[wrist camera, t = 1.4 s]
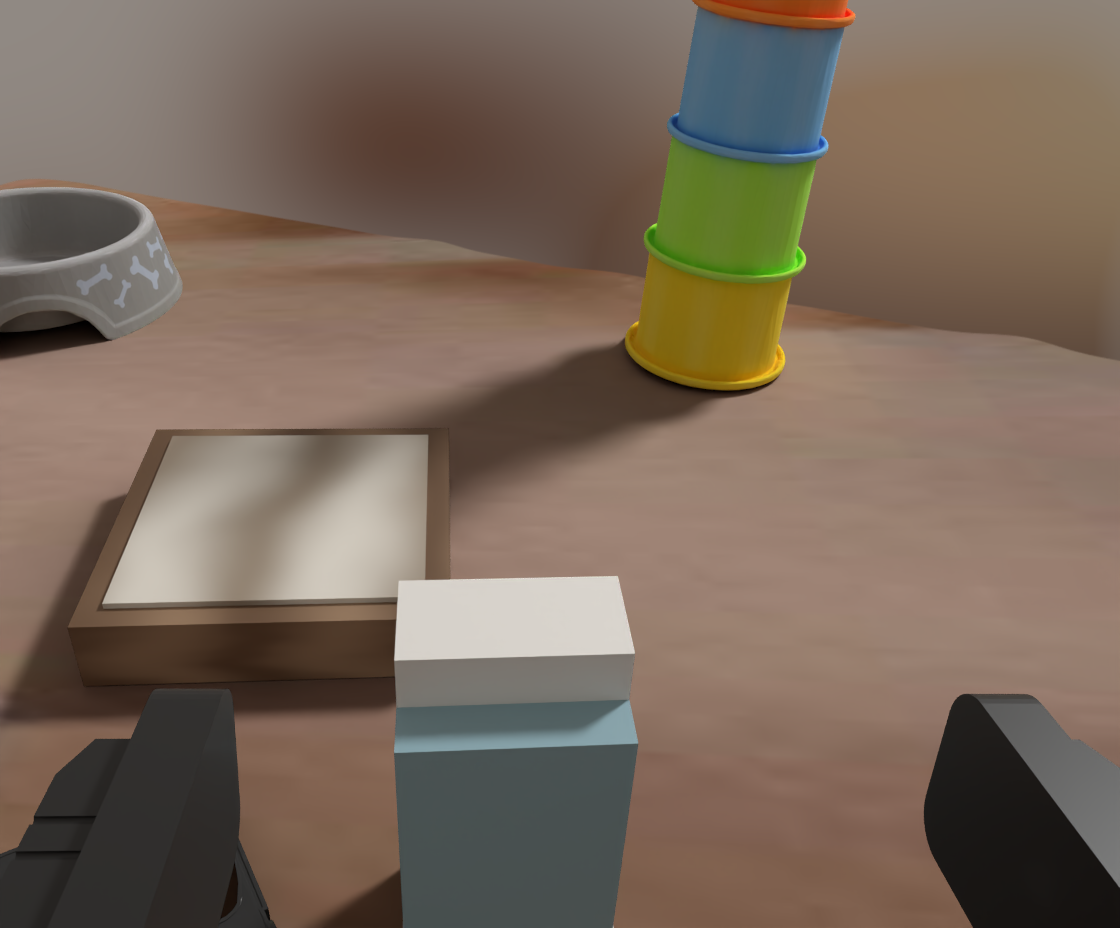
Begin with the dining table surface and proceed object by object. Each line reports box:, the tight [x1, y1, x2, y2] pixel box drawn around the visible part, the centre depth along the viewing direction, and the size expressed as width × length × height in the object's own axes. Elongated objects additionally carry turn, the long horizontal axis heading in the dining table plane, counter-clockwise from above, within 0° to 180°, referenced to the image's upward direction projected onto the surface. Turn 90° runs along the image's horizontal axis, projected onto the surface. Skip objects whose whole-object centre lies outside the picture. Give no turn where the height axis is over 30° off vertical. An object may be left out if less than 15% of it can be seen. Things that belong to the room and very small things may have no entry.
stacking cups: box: [625, 0, 855, 390], centre depth 56 cm, size 10×10×35 cm
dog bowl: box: [0, 187, 182, 340], centre depth 66 cm, size 17×18×5 cm
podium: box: [67, 428, 450, 686], centre depth 45 cm, size 14×14×3 cm
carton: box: [394, 576, 638, 928], centre depth 28 cm, size 6×6×13 cm
